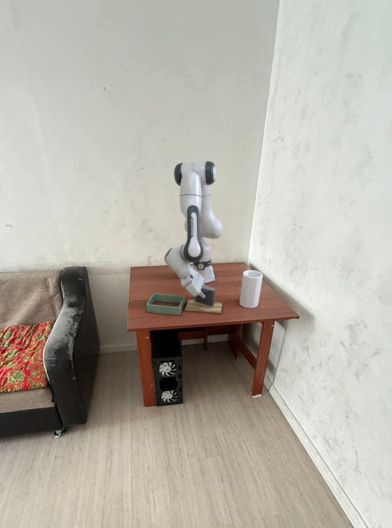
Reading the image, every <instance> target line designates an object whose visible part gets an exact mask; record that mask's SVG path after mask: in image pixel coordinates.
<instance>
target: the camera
mask: <svg viewBox="0 0 392 528" xmlns="http://www.w3.org/2000/svg"><path fill="white" fill-rule="evenodd" d="M204 285H205V284H204ZM204 285H202V288H201V291H202V293H203V294H205V295H206V297H205V298H202V297H201V296H199V295H197V296H196V297H194V296H193V297H194V298H193V300H194V302H195V303H199V304H204V305H208V306H213V305H214V302H215V297H216V295H215V294H216V288H215V287H212V286H209V285H205V286H204Z"/></svg>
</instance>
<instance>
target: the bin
mask: <svg viewBox="0 0 392 528" xmlns="http://www.w3.org/2000/svg"><path fill="white" fill-rule="evenodd" d="M185 300H186V297H185V295H177V294H176V295H175V294H166V293H165V294H164V293H155V292H153V294H152V295H151V297H150V298H149V299H148V301H147V303H146V305H145V306H146V312H147V313H153V314H164V315H173V316H181V314H182V311H183V308H184V306H185V303H186V301H185ZM155 302H163V303H174V304H179V306H169V305H160V304H154V303H155Z"/></svg>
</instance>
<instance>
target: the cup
mask: <svg viewBox="0 0 392 528" xmlns="http://www.w3.org/2000/svg"><path fill="white" fill-rule="evenodd" d="M263 277H264V275H263V272H261V271H259V270H253V269H247V270H244V271H243V272H242V279H241V287H240V295H239V306H241V307H242V308H244V309H255V308H257V307H258V306H259V301H260V295H261V289H262V283H263Z"/></svg>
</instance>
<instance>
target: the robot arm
mask: <svg viewBox="0 0 392 528" xmlns="http://www.w3.org/2000/svg"><path fill="white" fill-rule="evenodd" d="M217 174H218V173H217V168H216V163H214V162H213V161H209V160H206V161H205V160H204V161H203V160H194V161H187V162H180V163H177V164H176V165H175V167H174V171H173V177H174V182H175V183H176V185H177V186H179V208H180V212H181V214H182V215H183V216H184V218H185V221H184V230H185V232H186V242H185V243H183V244H181V245H178V246H175V247H169V249H168V250H167V252H166V253H165V255H164V257H163V258H164V262H165V264H166V265H167V267H168V268H169V269H170V270H171V271H172V272H173V273H175V274H176V275H177V277H178V278H179V280H180V286H181V287H182V288H185V290H186V291H187V292H188V293H189V294H190V295H191V296H192V297H196V296H197V295H199V296H201V297H202V298H205V297H206V295H205V294H203V293H202V291H201V288H202V285H204V286H206V284H207V283H211V282H215V281H216V276H215V272H214V268H213V266H212V246H211V244H210V243H209V242H208V240H207V239H209V240H216V239H220V238H221V237H222V235H223V232H224V226H223V223H222V222H221V221H220V219H218V218H217V216H216V214H215V212H214V209H213V207H212V206H213V205H212V199H211V197H212V196H211V185H213V184H214V183H215V182H216V178H217ZM191 263H192V265H191Z"/></svg>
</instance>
